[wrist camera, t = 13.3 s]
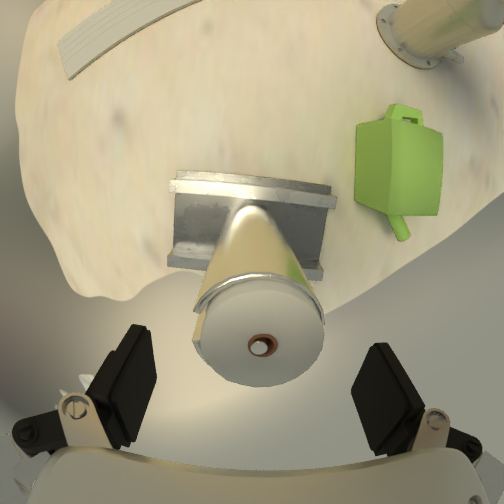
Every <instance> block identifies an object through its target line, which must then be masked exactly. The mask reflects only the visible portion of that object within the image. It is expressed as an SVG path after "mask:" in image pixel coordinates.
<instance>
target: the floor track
mask: <svg viewBox="0 0 504 504" xmlns="http://www.w3.org/2000/svg"><path fill="white" fill-rule="evenodd" d="M330 191H331V187H330V186H326V185H319V184H313V183H306V182H299V181H292V180H284V179H276V178H268V177H259V176H249V175H239V174H228V173H215V172H201V171H184V170H177V176H176V178H175V179H171V180H170V187H169V192H175V210H174V241H173V249H172V251H171V252H170V253H169V254H168V256H167V267H176V268H185V269H195V270H204V271H207V268H208V265H209V262H210V260H211V257H212V254H213V251H214V249H215V246H216V243H217V240H218V238H219V235H220V232H221V229H222V227H223V224H224V221H225V219H226V216H227V214H228V212H229V211H230V209H231V208H232V207H233V206H234V205H236V204H238V203H239V202H242V201H246V200H255V201H258V202H261V203H263V204H264V205H266V206H267V207H268V208H269V209H270V210H271V212H272V214H273V215H274V217H275V219H276V221H277V223H278V225H279V226H280V228H281V230H282V232H283V234H284V236H285V238H286V239H287V241H288V243H289V245H290V247H291V249H292V251H293V253H294V255H295V256H296V258H297V260H298V262H299V264H300V266H301V268H302V270H303V272H304V274H305V276H306V278H307V279H308V280H316V281H322V277H323V272H324V270H323V268H322V267H321V265H320V264H319V262H318V261H319V256H320V251H321V245H322V240H323V234H324V229H325V223H326V217H327V210H328V208H331V209H335V207H336V201H337V197H336V196H333V195H331V194H330Z"/></svg>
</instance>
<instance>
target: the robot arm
mask: <svg viewBox="0 0 504 504" xmlns="http://www.w3.org/2000/svg"><path fill="white" fill-rule="evenodd" d="M503 22H504V0H406V1H405V2H404V3H403V4H402V5H398V4H390V5H387V6H385V7H383V8H382V9H381V10H380V11H379V13H378V15H377V26H378V30H379V32H380V34H381V36H382V38H383V40H384V41H385V43H386V44H387V45H388V47H389V48H390V49H391V50H392V51H393V52H394V53H395V54H396V55H397V56H398V57H399V58H401V59H402V60H404V61H405V62H406V63H408V64H410V65H412V66H415V67H417V68H422V69H429V68H432V67H434V66H436V65H438V63H439V62H440V60H441V58H442V57H443V56H444V57H446V58H451V59H452V60H453V61H455V62H456V63H458V64H460V65H461V64H463V62H464V57H463V56H462V55H460V54H459V53H457V52H455V51H453V50H452V48H453V49H455V48H456V47H458V46H460V45H463V44H465V43H468V42H471V41H473V40H476V39H479V38H482V37H485V36H488V35H490V34H493V33H496V32H497V31H499V30H500V29H501V27H502V25H503ZM156 380H157V374H156V368H155V361H154V355H153V347H152V339H151V332H150V330H147V328H146V326H142V325H136V324H132V325H131V327H130V328H129V330H128V331H127V333H126V334H125V336H124V338H123V339H122V341H121V343H120V344H119V346H118V348H117V349H116V351H114V350H113V351H111V352H110V353H109V354H108V356H107V357H106V359H105V361H104V362H103V364H102V366H101V367H100V369H99V371H98V372H97V374H96V376H95V377H94V379H93V381H92V382H91V384H90V386H89V388H88V389H87V391H86V393H85V394H82V393H77V392H76V393H70V394H67V395H65V396H64V397H63V398H62V399H61V400H60V402H59V405H58V410H54V411H51V412H48V413H44V414H40V415H37V416H33V417H29V418H25V419H22V420H19V421H18V422H17V423H15V425H14V427H13V430H12V434H11V435H8V434H5V435H3V436H1V437H0V504H497V502H498V500H499V499H500V496H501V495H502V493H503V491H504V464H502V463H501V462H500V461H499V460H497V459H496V458H494V457H493V456H492V455H491V454H489V453H488V452H487V451H484V452H482V445H481V443H480V441H479V440H478V439H477V438H475V437H473V436H471V435H469V434H466V433H464V432H461V431H459V430H456V429H454V428H451V427H450V420H449V417H448V416H447V414H446V413H445V412H444V411H442V410H440V409H436V408H431V409H428V410H427V411H425V409H424V407H425V404H424V403H423V401H422V399H421V397H420V395H419V394H418V392H417V390H416V389H415V387H414V385H413V384H412V382H411V380H410V378H409V377H408V375H407V373H406V372H405V370H404V368H403V367H402V365H401V363H400V362H399V360H398V359H397V357H396V355H395V354H394V352H393V351H392V349H391V348H390V346H389V344H388V343H375V344H374V345H373V346H371V347H370V348H369V351H368V353H367V355H366V358H365V360H364V362H363V364H362V367H361V369H360V371H359V374H358V375H357V377H356V379H355V382H354V384H353V386H352V388H351V394H352V397H353V400H354V403H355V406H356V409H357V411H358V414H359V417H360V420H361V423H362V426H363V428H364V432H365V434H366V437H367V440H368V444H369V446H370V449H371V450H372V451H374V453H375V456H379V455H383V454H386V453H387V456H388V457H385V458H380V459H375V460H371V461H365V462H360V463H355V464H349V465H341V466H334V467H326V468H316V469H304V470H279V471H258V470H234V469H220V468H211V467H203V466H195V465H189V464H182V463H177V462H171V461H166V460H161V459H156V458H151V457H146V456H142V455H138V454H134V453H129V452H125V451H121V450H119V449H120V447H121V445H122V446H125V447H130V444H131V442H135V441H136V438H137V435H138V432H139V429H140V426H141V423H142V420H143V418H144V415H145V412H146V409H147V406H148V403H149V400H150V397H151V395H152V392H153V389H154V386H155V384H156ZM35 480H36V481H35ZM34 481H35V484H34V486H33V488H31V487H32V483H33V482H34Z"/></svg>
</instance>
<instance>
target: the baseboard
mask: <svg viewBox="0 0 504 504" xmlns="http://www.w3.org/2000/svg"><path fill="white" fill-rule="evenodd" d="M198 1H201V0H113V1H112V2H110V3H108V4H107V5H105V6H104V7H102V8H101V9H99V10H98V11H97V12H95V13H94V14H92V15H91V16H90V17H88V18H87V19H85V20H84V21H83V22H81V23H80V24H79V25H78V26H76V27H75V28H74V29H73V30H71V31H70V32H69V33H68V34H66V35H65V36H64V37H63V38H62V39H61V40H59V41H58V45H57V46H58V48H59V53H60V56H61V59H62V63H63V66H64V70H65V73H66V76H67V79H68V80H71V79H72V78H74V77H75V76H76V75H77V74H78V73H79V72H81V71H82V70H83V69H84V68H86V67H87V66H88V65H89V64H91V63H92V62H93V61H95V60H96V59H97V58H99V57H100V56H101V55H103V54H104V53H106V52H107V51H108V50H110V49H111V48H113V47H114V46H116V45H117V44H119V43H120V42H122V41H123V40H125V39H127V38H128V37H130V36H131V35H133V34H135V33H136V32H138V31H140V30H141V29H143V28H145V27H147V26H148V25H150V24H152V23H154V22H156V21H158V20H159V19H161V18H163V17H165V16H167V15H169V14H171V13H173V12H175V11H178V10H180V9H182V8H184V7H186V6H189V5H191V4H193V3H196V2H198Z"/></svg>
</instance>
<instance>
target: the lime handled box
mask: <svg viewBox="0 0 504 504" xmlns="http://www.w3.org/2000/svg"><path fill="white" fill-rule="evenodd" d="M402 118H403V119H410V120H411V123H410V122H406V121H402ZM442 172H443V136H442V133H440V132H437V131H435V130H432V129H429V128H426V127H424V126H423V119H422V112H421V111H420V110H417V109H413V108H410V107H407V106H403V105H399V104H393V105H389V107H388V110H387V112H386V115H385V117H384V120H378V121H372V122H367V123H362V124H358V125H357V131H356V167H355V194H354V200H355V201H357V202H359V203H362V204H364V205H366V206H369V207H371V208H373V209H376V210H378V211H380V212H383V213H385V214H386V216H387V218H388V220H389V222H390V225H391V227H392V229H393V231H394V233H395V235H396V238H397V240H398V241H400V242H402V241H405V240H407V239H408V238H409V237H410V232H409V230H408V228H407V225H406V223H405V221H404V219H403V217H402V216H436V215H437V214H438V209H439V203H440V195H441V186H442Z"/></svg>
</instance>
